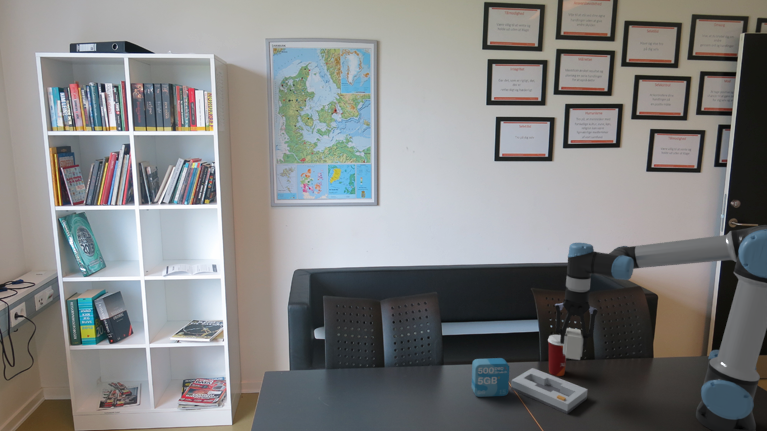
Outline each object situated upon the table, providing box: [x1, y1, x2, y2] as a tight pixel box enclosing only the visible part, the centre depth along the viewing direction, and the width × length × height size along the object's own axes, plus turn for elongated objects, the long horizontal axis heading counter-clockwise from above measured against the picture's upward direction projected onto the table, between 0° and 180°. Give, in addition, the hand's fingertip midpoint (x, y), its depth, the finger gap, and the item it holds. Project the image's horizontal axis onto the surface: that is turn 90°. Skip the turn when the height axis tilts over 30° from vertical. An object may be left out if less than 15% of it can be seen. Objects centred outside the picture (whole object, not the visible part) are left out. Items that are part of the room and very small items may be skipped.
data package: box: [471, 357, 510, 398], centre depth 164 cm, size 12×4×12 cm, turn 94°
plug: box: [565, 327, 583, 361], centre depth 163 cm, size 10×4×8 cm, turn 161°
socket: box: [510, 367, 588, 415], centre depth 164 cm, size 21×14×4 cm, turn 42°
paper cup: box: [547, 334, 567, 377], centre depth 179 cm, size 8×8×14 cm
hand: (572, 353), depth 162 cm, fingers closed on plug, 4 cm apart
